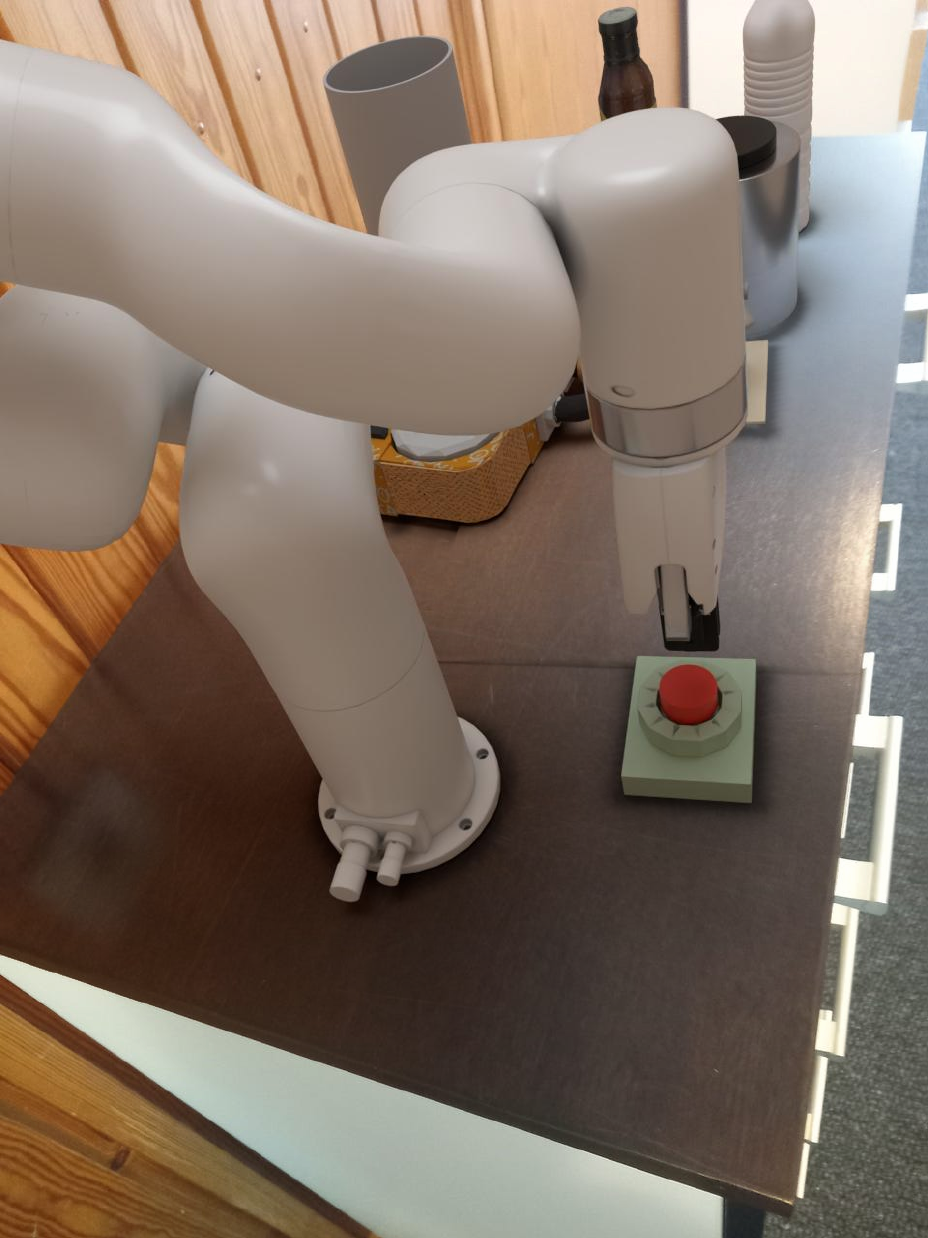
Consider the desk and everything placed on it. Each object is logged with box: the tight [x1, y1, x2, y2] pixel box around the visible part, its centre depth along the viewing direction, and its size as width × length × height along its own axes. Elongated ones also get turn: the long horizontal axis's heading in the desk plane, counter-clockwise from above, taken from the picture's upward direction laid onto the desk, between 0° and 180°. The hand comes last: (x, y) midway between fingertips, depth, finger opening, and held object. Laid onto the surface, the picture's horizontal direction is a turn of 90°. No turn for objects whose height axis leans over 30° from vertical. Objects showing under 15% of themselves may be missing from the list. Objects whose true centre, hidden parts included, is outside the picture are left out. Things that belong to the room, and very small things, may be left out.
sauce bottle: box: [597, 6, 658, 122], centre depth 114 cm, size 7×6×20 cm
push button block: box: [620, 655, 757, 804], centre depth 68 cm, size 10×8×4 cm
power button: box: [659, 664, 718, 725], centre depth 66 cm, size 4×4×2 cm
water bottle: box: [742, 0, 816, 233], centre depth 101 cm, size 9×6×25 cm
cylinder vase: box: [322, 35, 473, 236], centre depth 105 cm, size 12×12×25 cm
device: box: [370, 356, 590, 524], centre depth 93 cm, size 23×8×30 cm
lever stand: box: [742, 258, 769, 426], centre depth 89 cm, size 12×9×12 cm
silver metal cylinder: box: [715, 114, 801, 338], centre depth 96 cm, size 14×12×17 cm
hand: (692, 640), depth 62 cm, fingers closed
